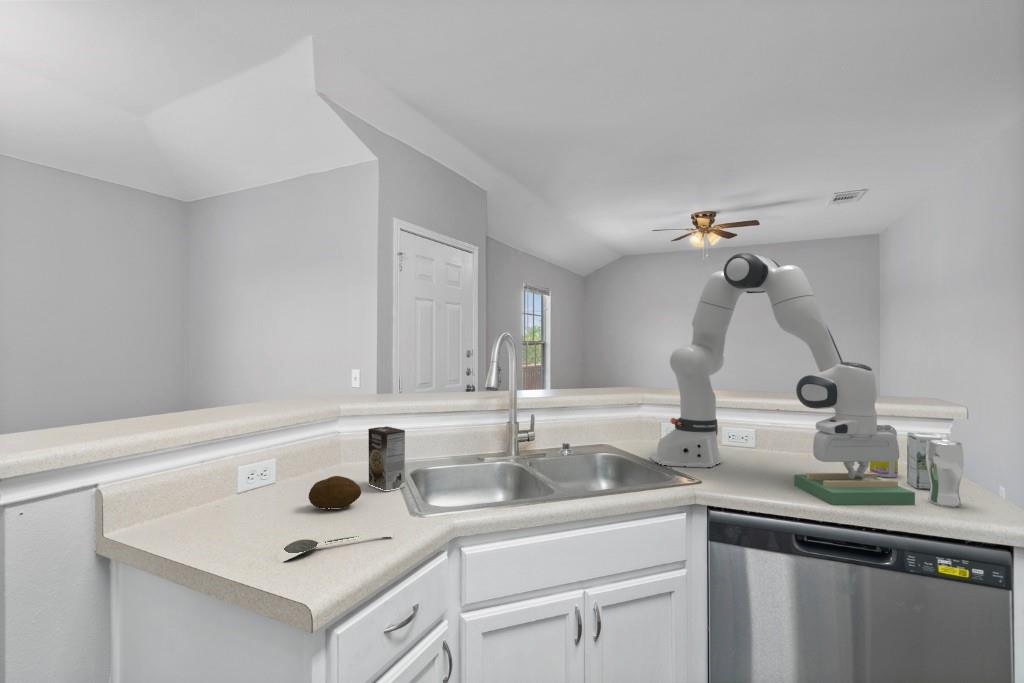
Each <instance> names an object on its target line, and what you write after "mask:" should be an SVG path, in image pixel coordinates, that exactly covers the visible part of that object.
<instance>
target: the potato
mask: <svg viewBox="0 0 1024 683" xmlns="http://www.w3.org/2000/svg"><path fill="white" fill-rule="evenodd" d="M361 488H362V487H361V486H360V485H358V483H357V482H355V481H354V480H352V479H350V478H348V477H346V476H342V475H341V476H340V475H333V476H330V477H328V478H325V479H321V480H319V481H317V482H315V483H314V484H313V485H312V486H311V488H310V489H309V490H310V491H309V492H308V497H307V498H308V500H309V502H310V504H311V505H312V506H314V507H316V508H317V507H318V509H320V508H325V509H324V510H332V509H331V508H342V509H345V508H347V507H348V506H349V507H350V506H351V505H352V504H353V503H355V502H356V501H357V500H358V499H359V498H360V497H361V496H362V495H361V494H362V489H361ZM344 507H345V508H344ZM328 508H330V509H328Z"/></svg>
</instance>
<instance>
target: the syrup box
mask: <svg viewBox="0 0 1024 683" xmlns="http://www.w3.org/2000/svg"><path fill="white" fill-rule="evenodd" d="M906 436H907V438H906V439H907V440H906V441H907V442H906V445H907V446H906V447H907V448H906V450H907V451H906V452H907V453H906V457H907V459H906V460H907V462H906V463H907V464H906V471H907V473H906V477H907V479H906V481H907V482H906V483H907V484H908V485H910V486H911V487H913V488H915V490H916V489H917V490H918V489H919V490H927V491H928V490H929V491H930V481H929V476H928V472H927V467H926V443H927V440H931V439H936V440H943V438H942V437H941V436H939V435H938V434H936V433H930V432H908V431H907V434H906Z"/></svg>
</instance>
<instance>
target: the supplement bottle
mask: <svg viewBox="0 0 1024 683" xmlns="http://www.w3.org/2000/svg"><path fill="white" fill-rule="evenodd" d="M898 460H899V459H898ZM898 460H897V461H896V462H869V473H876V474H877V477H879V476H880V478H887V477H888V479H889V478H891V479H892V478H896V477H898V475H899V468H898V467H899V466H898Z"/></svg>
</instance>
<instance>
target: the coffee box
mask: <svg viewBox="0 0 1024 683" xmlns="http://www.w3.org/2000/svg"><path fill="white" fill-rule="evenodd" d="M405 430H406V429H401V428H397V427H391V426H383V427H382V426H380V427H370V428H368V485H369V484H370V485H373V486H375V487H378V488H381V489H383V490H391V489H396V488H399V487H400V485H401V484H402V483H404V482H405V480H406V479H405V477H406V476H405V474H406V473H405V471H406V469H405V468H406V464H405V463H406V460H405V459H406V458H405V456H406V452H405V451H406V438H405V437H406V431H405Z"/></svg>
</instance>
